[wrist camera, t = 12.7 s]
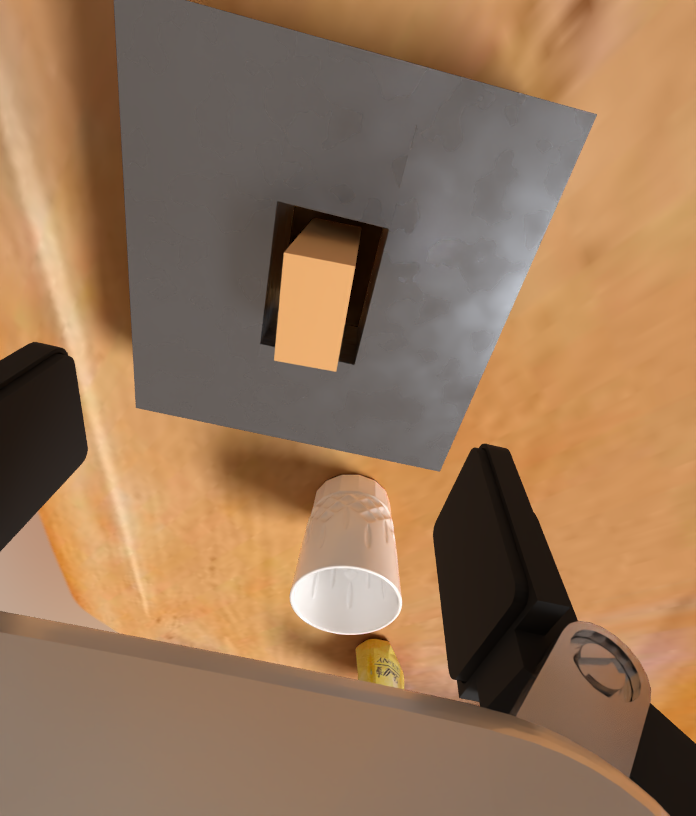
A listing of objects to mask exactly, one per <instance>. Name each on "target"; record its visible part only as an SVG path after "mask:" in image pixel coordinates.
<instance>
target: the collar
mask: <svg viewBox="0 0 696 816" xmlns="http://www.w3.org/2000/svg"><path fill="white" fill-rule="evenodd" d="M114 14H115V33H116V51H117V69H118V88H119V106H120V124H121V143H122V161H123V179H124V198H125V216H126V234H127V253H128V271H129V290H130V308H131V326H132V345H133V363H134V381H135V400H136V408H140V409H144V410H149V411H154V412H159V413H163V414H168V415H173V416H178V417H182V418H187V419H192V420H197V421H201V422H206V423H211V424H216V425H220V426H225V427H230V428H235V429H240V430H244V431H249V432H254V433H259V434H263V435H268V436H273V437H278V438H282V439H287V440H292V441H297V442H301V443H306V444H311V445H316V446H321V447H325V448H330V449H335V450H340V451H344V452H349V453H354V454H359V455H363V456H368V457H373V458H378V459H382V460H387V461H392V462H397V463H401V464H406V465H411V466H416V467H421V468H425V469H430V470H435V471H440V470H441V468H442V465H443V463H444V461H445V458H446V456H447V454H448V452H449V449H450V447H451V445H452V443H453V440H454V438H455V436H456V434H457V431H458V429H459V427H460V424H461V422H462V420H463V418H464V415H465V413H466V411H467V409H468V406H469V404H470V402H471V399H472V397H473V395H474V393H475V390H476V388H477V386H478V384H479V381H480V379H481V377H482V375H483V372H484V370H485V368H486V365H487V363H488V361H489V359H490V356H491V354H492V352H493V350H494V347H495V345H496V343H497V340H498V338H499V336H500V334H501V331H502V329H503V327H504V325H505V322H506V320H507V318H508V316H509V313H510V311H511V309H512V306H513V304H514V302H515V300H516V297H517V295H518V293H519V291H520V288H521V286H522V284H523V281H524V279H525V277H526V275H527V272H528V270H529V268H530V266H531V263H532V261H533V259H534V257H535V254H536V252H537V250H538V247H539V245H540V243H541V241H542V238H543V236H544V234H545V232H546V229H547V227H548V225H549V222H550V220H551V218H552V216H553V213H554V211H555V209H556V207H557V204H558V202H559V200H560V198H561V195H562V193H563V191H564V188H565V186H566V184H567V182H568V179H569V177H570V175H571V173H572V170H573V168H574V166H575V163H576V161H577V159H578V157H579V154H580V152H581V150H582V148H583V145H584V143H585V141H586V139H587V136H588V134H589V132H590V129H591V127H592V125H593V123H594V120H595V118H596V116H597V114H594V113H590V112H586V111H583V110H579V109H576V108H572V107H568V106H565V105H561V104H558V103H554V102H550V101H547V100H543V99H540V98H536V97H532V96H529V95H525V94H522V93H518V92H514V91H511V90H507V89H504V88H500V87H496V86H493V85H489V84H486V83H482V82H478V81H475V80H471V79H467V78H464V77H460V76H457V75H453V74H449V73H446V72H442V71H439V70H435V69H431V68H428V67H424V66H421V65H417V64H413V63H410V62H406V61H403V60H399V59H395V58H392V57H388V56H385V55H381V54H377V53H374V52H370V51H367V50H363V49H359V48H356V47H352V46H349V45H345V44H341V43H338V42H334V41H331V40H327V39H323V38H320V37H316V36H313V35H309V34H305V33H302V32H298V31H295V30H291V29H287V28H284V27H280V26H277V25H273V24H269V23H266V22H262V21H259V20H255V19H251V18H248V17H244V16H240V15H237V14H233V13H230V12H226V11H222V10H219V9H215V8H212V7H208V6H204V5H201V4H197V3H194V2H190V1H186V0H114ZM295 206H299V207H303V208H307V209H311V210H315V211H319V212H323V213H327V214H331V215H335V216H339V217H343V218H347V219H351V220H355V221H359V222H363V223H368V224H372V225H376V226H380V227H383V229H382V233H381V237H380V241H379V245H378V249H377V253H376V257H375V261H374V265H373V269H372V273H371V277H370V281H369V285H368V289H367V293H366V297H365V301H364V305H363V309H362V314H361V318H360V322H359V326H358V327H355V326H350V325H346V324H345V326H344V332H343V337H342V343H341V348H340V354H339V359H338V365H337V370H336V372H334V371H329V370H323V369H318V368H312V367H307V366H301V365H296V364H290V363H285V362H279V361H274V355H275V344H276V333H277V322H278V311H279V300H280V289H281V279H282V268H283V257H284V252H285V251H286V249H287V248H288V247H289V243H290V236H291V228H292V221H293V214H294V207H295Z"/></svg>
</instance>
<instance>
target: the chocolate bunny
mask: <svg viewBox="0 0 696 816" xmlns="http://www.w3.org/2000/svg"><path fill="white" fill-rule="evenodd" d="M355 650H356V660H357V671H358V680H361V681H366V682H371V683H376V684H381V685H386V686H390V687H395V688H399V689H404V674H403V671H402V669H401V666H400V664H399V662H398V660H397V657H396V655H395V653H394V651H393V649H392V648H391V646H390V643H389V641H385V640H380V639H369V640H366V641H365V642H363V643H361V644H360V645H358V647H357V648H356V649H355Z"/></svg>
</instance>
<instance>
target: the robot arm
mask: <svg viewBox="0 0 696 816" xmlns="http://www.w3.org/2000/svg"><path fill="white" fill-rule="evenodd" d="M87 451H88V446H87V440H86V433H85V427H84V420H83V414H82V407H81V401H80V394H79V388H78V381H77V375H76V368H75V363H74V360H73V358H72V357H70V356H68V353H67V352H66V350H65V349H63V348H60V347H56V346H52V345H47V344H43V343H38V342H32V343H30V344H28V345H26V346H24V347H23V348H21V349H19V350H17V351H16V352H14V353H12V354H11V355H9V356H7V357H5V358H4V359H2V360H0V551H1V550H2V549H3V548H4V547H5V546H6V545H7V543H9V542H10V541H11V539H12V538H13V537H14V536H15V535H16V534H17V533H18V532H19V531H20V530H21V529H22V528H23V527H24V525H25V524H26V523H27V522H28V521H29V520H30V519H31V518H32V517H33V516H34V515H35V514H36V512H37V511H38V510H39V509H40V508H41V507H42V506H43V505H44V504H45V503H46V502H47V501H48V500H49V498H50V497H51V496H52V495H53V494H54V493H55V492H56V491H57V490H58V489H59V488H60V487H61V486H62V484H63V483H64V482H65V481H66V480H67V479H68V478H69V477H70V476H71V475H72V474H73V473H74V472H75V470H76V469H77V468H78V467H79V466H80V465H81V464H82V463H83V461H84V460H85V458H86V455H87ZM433 540H434V549H435V557H436V566H437V574H438V583H439V592H440V600H441V609H442V617H443V626H444V635H445V643H446V652H447V660H448V669H449V674H450V677H451V678H452V679H454V680H457V684H458V692H459V698H462V699H467V700H473V701H478V702H480V706H476V705H472V704H468V703H464V702H460V701H455V700H450V699H446V698H441V697H436V696H432V695H427V694H423V693H418V692H413V691H409V690H404V689H399V688H395V687H390V686H386V685H381V684H376V683H371V682H366V681H361V680H356V679H350V678H345V677H340V676H335V675H330V674H325V673H320V672H315V671H310V670H305V669H300V668H295V667H290V666H285V665H280V664H274V663H269V662H264V661H259V660H254V659H249V658H244V657H239V656H234V655H228V654H223V653H218V652H213V651H208V650H203V649H197V648H192V647H187V646H182V645H177V644H171V643H166V642H161V641H156V640H151V639H145V638H140V637H135V636H130V635H124V634H119V633H114V632H108V631H103V630H98V629H93V628H88V627H82V626H77V625H72V624H66V623H61V622H56V621H51V620H45V619H40V618H35V617H29V616H24V615H18V614H13V613H7V612H2V611H0V816H696V744H695V743H694V742H693V741H692V740H691V739H690V738H689V737H688V736H686V735H685V734H684V733H683V732H682V731H681V730H680V729H679V728H678V727H676V726H675V725H674V724H673V723H672V722H671V721H670V720H669V719H667V718H666V717H665V716H664V715H663V714H662V713H661V712H660V711H659V710H657V709H656V708H655V707H654V706H653V705H652V704H651V703H650V701H651V687H650V684H649V680H648V677H647V674H646V672H645V671H644V669H643V667H642V665H641V663H640V662H639V660H638V659H637V658H636V656H635V655H634V654H633V653H632V651H631V650H630V649H629V648H628V647H627V646H626V645H625V644H624V643H623V642H622V641H621V640H620V639H619V638H618V637H616V636H615V635H614V634H612V633H610V632H609V631H607V630H606V629H604V628H603V627H600V626H598V625H595V624H593V623H590V622H583V621H578V620H577V617H576V615H575V612H574V610H573V607H572V605H571V602H570V600H569V597H568V594H567V592H566V589H565V587H564V584H563V582H562V579H561V577H560V574H559V572H558V569H557V567H556V564H555V562H554V559H553V556H552V554H551V551H550V549H549V546H548V544H547V541H546V539H545V536H544V534H543V531H542V529H541V526H540V523H539V521H538V519H537V517H536V515H535V513H534V512H533V510H532V507H531V505H530V502H529V500H528V497H527V495H526V492H525V489H524V487H523V484H522V482H521V479H520V477H519V474H518V471H517V469H516V466H515V464H514V461H513V459H512V456H511V454H510V451H509V450H508V449H506V448H502V447H498V446H493V445H489V444H482V445H481V446H480V447H479V448H473V449H472V450H471V451H470V453H469V455H468V457H467V459H466V461H465V463H464V465H463V467H462V469H461V471H460V474H459V476H458V478H457V480H456V482H455V484H454V486H453V488H452V490H451V492H450V494H449V496H448V498H447V500H446V502H445V504H444V506H443V508H442V510H441V512H440V514H439V516H438V518H437V520H436V523H435V526H434V531H433Z"/></svg>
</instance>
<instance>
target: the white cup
mask: <svg viewBox="0 0 696 816" xmlns="http://www.w3.org/2000/svg"><path fill="white" fill-rule="evenodd" d="M290 603H291V606H292V608H293V610H294V611H295V613H296V614H297V615H298V616H299V617H300V618H301V619H302V620H303V621H305V622H306V623H308V624H309V625H311V626H313V627H315V628H318V629H320V630H323V631H326V632H330V633H335V634H344V635H357V634H365V633H370V632H374V631H377V630H379V629H382V628H384V627H386V626H387V625H389V624H390V623H391V622H393V621H394V620H395V619H396V617H397V616H398V615H399V613H400V611H401V607H402V598H401V588H400V579H399V569H398V560H397V550H396V543H395V536H394V527H393V521H392V518H391V509H390V502H389V499H388V496H387V493H386V490H385V489H384V488H382V487H381V486H380V485H379V484H378V483H377V482H376V481H375V480H372V479H370V478H367V477H364V476H361V475H340V476H337V477H334V478H332V479H329V480H327V481H326V482H325V483H324V484H323V485H322V486H321V487H320V488H319V489H318V490H317V492H316V496H315V501H314V505H313V509H312V513H311V515H310V517H309V519H308V524H307V527H306V530H305V535H304V538H303V541H302V545H301V550H300V554H299V558H298V563H297V567H296V571H295V575H294V579H293V583H292V587H291V591H290Z"/></svg>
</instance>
